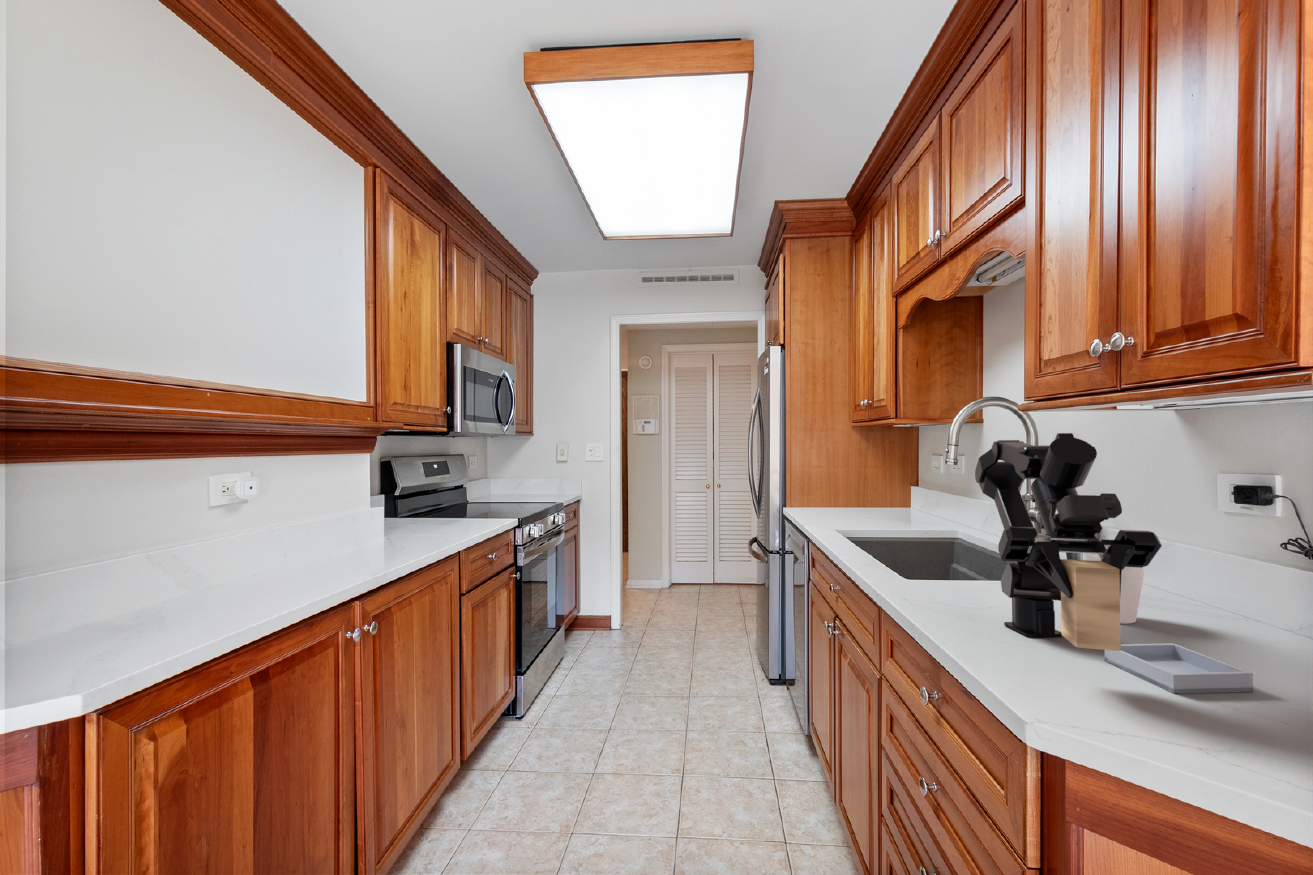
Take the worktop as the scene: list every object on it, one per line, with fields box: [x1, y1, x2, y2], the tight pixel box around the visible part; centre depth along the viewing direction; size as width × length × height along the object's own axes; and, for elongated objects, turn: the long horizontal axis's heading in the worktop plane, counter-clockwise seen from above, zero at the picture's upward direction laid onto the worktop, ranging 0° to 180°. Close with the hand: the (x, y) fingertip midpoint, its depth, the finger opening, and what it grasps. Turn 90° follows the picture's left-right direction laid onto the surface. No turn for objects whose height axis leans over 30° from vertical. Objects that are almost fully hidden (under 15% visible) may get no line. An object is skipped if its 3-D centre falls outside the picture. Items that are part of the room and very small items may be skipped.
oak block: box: [1060, 558, 1121, 651], centre depth 77 cm, size 5×5×11 cm
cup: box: [1082, 553, 1145, 625], centre depth 105 cm, size 9×9×12 cm
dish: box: [1104, 642, 1254, 694], centre depth 79 cm, size 11×11×2 cm
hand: (1094, 597), depth 75 cm, fingers closed on oak block, 5 cm apart
